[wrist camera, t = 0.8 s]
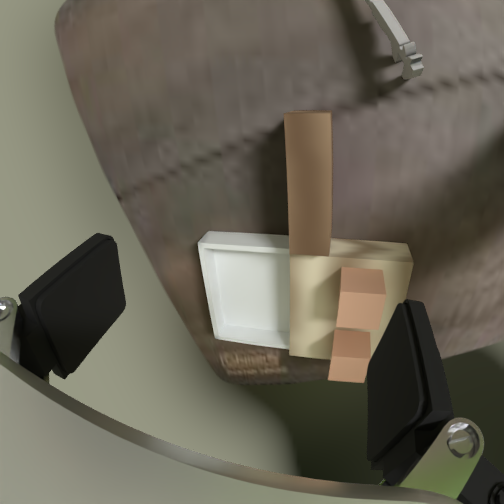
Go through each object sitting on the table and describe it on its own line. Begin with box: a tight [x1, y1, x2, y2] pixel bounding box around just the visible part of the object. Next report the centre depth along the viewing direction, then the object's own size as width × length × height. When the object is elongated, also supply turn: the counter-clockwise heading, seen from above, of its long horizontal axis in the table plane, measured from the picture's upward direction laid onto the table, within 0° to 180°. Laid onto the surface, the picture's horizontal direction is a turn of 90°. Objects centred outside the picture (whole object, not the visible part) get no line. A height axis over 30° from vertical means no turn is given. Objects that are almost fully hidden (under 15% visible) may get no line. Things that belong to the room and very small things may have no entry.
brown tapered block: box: [284, 110, 333, 257], centre depth 26 cm, size 4×12×6 cm, turn 4°
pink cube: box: [336, 267, 386, 330], centre depth 27 cm, size 4×4×4 cm
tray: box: [198, 231, 290, 349], centre depth 36 cm, size 10×14×3 cm
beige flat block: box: [289, 238, 414, 360], centre depth 33 cm, size 12×14×4 cm
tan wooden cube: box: [328, 330, 371, 383], centre depth 31 cm, size 4×4×4 cm
